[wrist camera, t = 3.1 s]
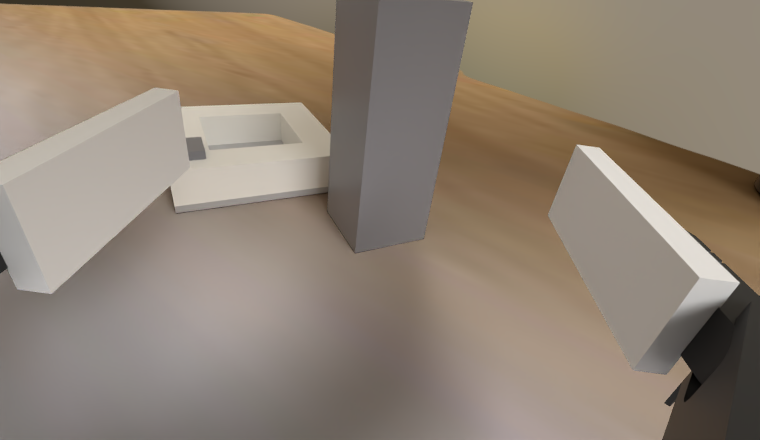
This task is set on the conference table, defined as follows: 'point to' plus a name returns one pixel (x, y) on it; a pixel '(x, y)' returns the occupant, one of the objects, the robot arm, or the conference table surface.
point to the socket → (251, 155)
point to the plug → (390, 114)
